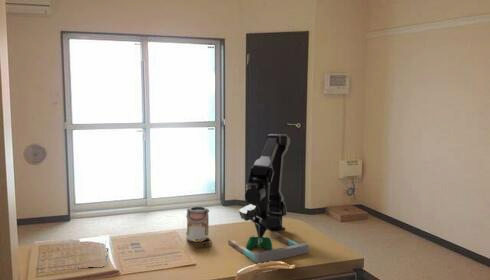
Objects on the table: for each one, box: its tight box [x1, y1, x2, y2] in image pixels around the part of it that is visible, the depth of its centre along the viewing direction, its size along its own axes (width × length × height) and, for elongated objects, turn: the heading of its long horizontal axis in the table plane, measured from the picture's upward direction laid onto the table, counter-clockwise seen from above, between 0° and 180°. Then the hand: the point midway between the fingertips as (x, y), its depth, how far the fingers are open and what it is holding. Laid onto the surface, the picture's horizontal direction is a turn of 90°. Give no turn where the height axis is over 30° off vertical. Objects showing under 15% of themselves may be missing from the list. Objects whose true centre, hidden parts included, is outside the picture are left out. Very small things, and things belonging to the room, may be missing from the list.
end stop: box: [254, 242, 309, 264], centre depth 146 cm, size 2×21×3 cm, turn 120°
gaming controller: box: [245, 234, 273, 251], centre depth 155 cm, size 9×4×6 cm
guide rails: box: [227, 231, 292, 254], centre depth 159 cm, size 11×21×2 cm, turn 120°
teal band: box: [242, 239, 299, 262], centre depth 151 cm, size 8×21×2 cm, turn 120°
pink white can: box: [186, 206, 210, 242], centre depth 161 cm, size 9×8×12 cm
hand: (260, 238), depth 159 cm, fingers closed
